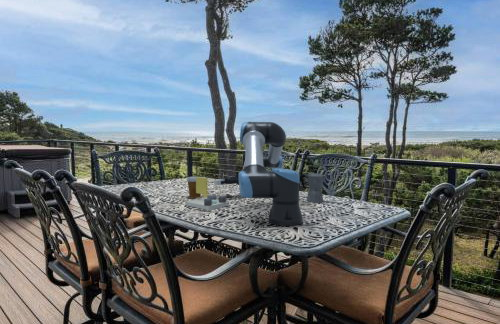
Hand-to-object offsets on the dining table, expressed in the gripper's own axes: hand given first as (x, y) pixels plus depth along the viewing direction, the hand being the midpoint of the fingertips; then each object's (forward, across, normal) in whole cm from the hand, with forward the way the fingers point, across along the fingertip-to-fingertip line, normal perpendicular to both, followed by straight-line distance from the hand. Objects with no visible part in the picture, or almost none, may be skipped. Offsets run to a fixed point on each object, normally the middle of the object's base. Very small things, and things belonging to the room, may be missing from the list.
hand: (215, 182), depth 202 cm
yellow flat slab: (+9, -1, -8) cm, 12 cm away
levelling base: (+11, -5, -10) cm, 16 cm away
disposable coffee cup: (0, +18, -11) cm, 21 cm away
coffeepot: (-36, -42, -11) cm, 56 cm away
